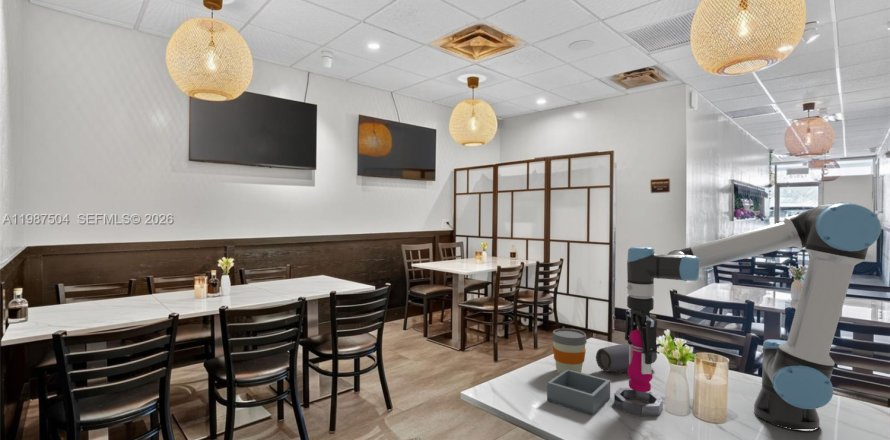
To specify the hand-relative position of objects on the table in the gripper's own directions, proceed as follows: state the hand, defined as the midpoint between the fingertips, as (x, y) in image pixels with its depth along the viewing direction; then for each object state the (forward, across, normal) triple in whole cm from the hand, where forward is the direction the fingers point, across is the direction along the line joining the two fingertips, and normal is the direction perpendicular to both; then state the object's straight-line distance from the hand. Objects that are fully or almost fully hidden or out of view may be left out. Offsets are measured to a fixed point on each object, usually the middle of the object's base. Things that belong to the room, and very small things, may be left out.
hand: (639, 369), depth 132 cm
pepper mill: (+6, 0, 0) cm, 6 cm away
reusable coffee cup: (+12, -29, -12) cm, 33 cm away
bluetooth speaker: (+12, -29, +12) cm, 34 cm away
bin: (+12, -6, -17) cm, 22 cm away
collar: (+12, 0, 0) cm, 12 cm away
